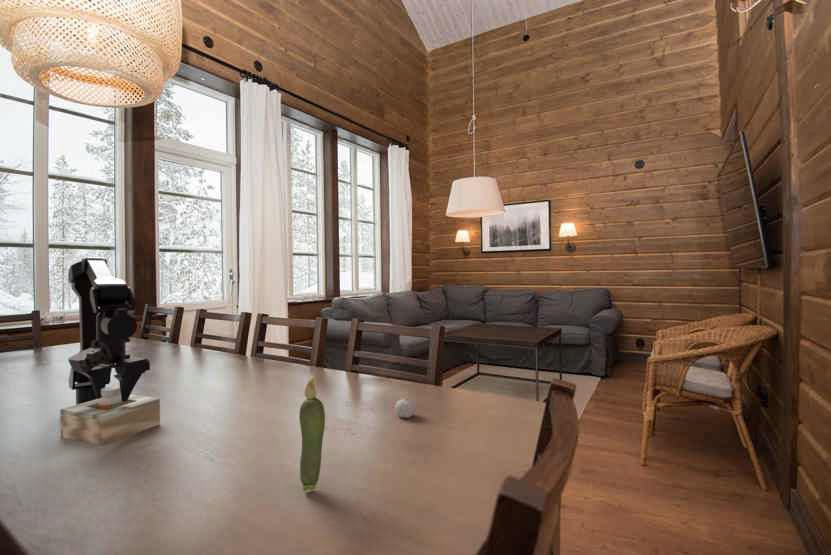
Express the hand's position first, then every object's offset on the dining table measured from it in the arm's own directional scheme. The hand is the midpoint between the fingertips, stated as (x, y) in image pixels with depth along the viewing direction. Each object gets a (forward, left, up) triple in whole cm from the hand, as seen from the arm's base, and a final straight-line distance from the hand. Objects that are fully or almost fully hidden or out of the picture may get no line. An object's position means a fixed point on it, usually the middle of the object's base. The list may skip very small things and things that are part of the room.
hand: (111, 399), depth 104 cm
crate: (0, 0, -8) cm, 8 cm away
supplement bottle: (0, 0, -7) cm, 7 cm away
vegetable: (+61, -8, -8) cm, 62 cm away
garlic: (+63, +33, -8) cm, 72 cm away
